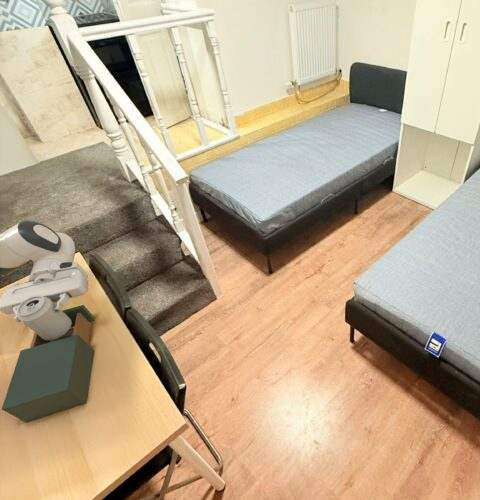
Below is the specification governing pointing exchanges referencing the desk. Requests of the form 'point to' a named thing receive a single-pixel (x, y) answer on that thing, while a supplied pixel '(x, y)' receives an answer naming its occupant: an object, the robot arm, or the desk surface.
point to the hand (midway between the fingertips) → (38, 315)
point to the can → (43, 318)
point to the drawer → (72, 325)
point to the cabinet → (50, 379)
